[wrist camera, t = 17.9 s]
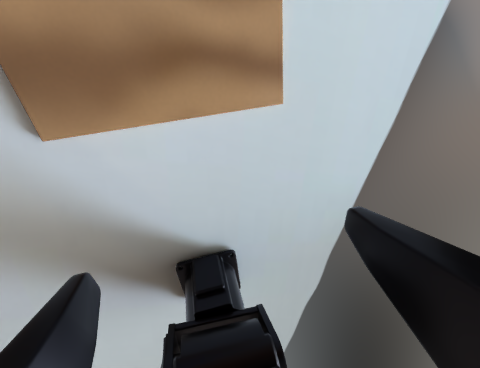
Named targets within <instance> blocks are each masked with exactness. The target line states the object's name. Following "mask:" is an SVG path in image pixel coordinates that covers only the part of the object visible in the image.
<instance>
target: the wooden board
mask: <svg viewBox="0 0 480 368" xmlns="http://www.w3.org/2000/svg"><path fill="white" fill-rule="evenodd" d="M0 65H1V67H2V68H3V70H4V72H5V74H6V76H7V78H8V79H9V81H10V83H11V85H12V87H13V89H14V90H15V92H16V94H17V96H18V98H19V99H20V101H21V103H22V105H23V107H24V109H25V110H26V112H27V114H28V116H29V118H30V120H31V121H32V123H33V125H34V127H35V129H36V130H37V132H38V134H39V136H40V138H41V140H42V141H50V140H56V139H62V138H69V137H75V136H81V135H88V134H94V133H100V132H107V131H113V130H119V129H126V128H132V127H138V126H145V125H151V124H158V123H164V122H170V121H177V120H183V119H189V118H196V117H202V116H208V115H215V114H221V113H227V112H234V111H240V110H246V109H253V108H259V107H265V106H272V105H278V104H283V30H282V0H0Z"/></svg>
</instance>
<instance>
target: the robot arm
mask: <svg viewBox="0 0 480 368" xmlns="http://www.w3.org/2000/svg"><path fill="white" fill-rule="evenodd" d="M345 230H346V232H347V234H348V235H349V237H350V239H351V241H352V243H353V244H354V246H355V248H356V250H357V252H358V253H359V255H360V257H361V259H362V260H363V262H364V264H365V265H366V267H367V268H368V270H369V271H370V273H371V274H372V276H373V277H374V278H375V280H376V281H377V282H378V284H379V285H380V287H381V288H382V290H383V291H384V292H385V294H386V295H387V297H388V298H389V299H390V301H391V302H392V303H393V305H394V307H395V308H396V309H397V311H398V312H399V313H400V315H401V316H402V318H403V319H404V321H405V322H406V323H407V325H408V326H409V328H410V329H411V330H412V332H413V333H414V335H415V336H416V337H417V339H418V340H419V342H420V343H421V345H422V346H423V347H424V349H425V350H426V352H427V353H428V354H429V356H430V357H431V359H432V360H433V361H434V363H435V364H436V366H437V367H438V368H480V256H478V255H475V254H472V253H470V252H468V251H465V250H463V249H461V248H458V247H456V246H453V245H451V244H449V243H446V242H444V241H442V240H439V239H437V238H435V237H432V236H430V235H427V234H425V233H423V232H420V231H418V230H415V229H413V228H410V227H408V226H405V225H403V224H401V223H399V222H396V221H394V220H391V219H389V218H387V217H384V216H382V215H379V214H377V213H375V212H372V211H370V210H368V209H365V208H363V207H360V206H358V207H353V208H350V209H348V211H347V215H346V220H345ZM230 254H232V255H230ZM176 271H177V274H178V277H179V280H180V283H181V285H182V288H183V291H184V294H185V298H186V322H183V323H179V324H175V323H174V324H169V328H168V334H166V337H165V338H164V347H163V360H162V365H161V368H287V365H286V360H285V356H284V352H283V349H282V346H281V343H280V340H279V338H278V336H277V334H276V332H275V330H274V328H273V326H272V324H271V322H270V320H269V318H268V315H267V313H266V311H265V309H264V307H263V305H262V304H259V305H256V306H255V307H251V308H246V309H245V308H244V304H243V301H242V297H241V293H240V287H241V286H240V280H239V273H238V267H237V260H236V254H235V251H234V250H228V251H224V252H220V253H216V254H212V255H208V256H204V257H200V258H196V259H192V260H188V261H184V262H180V263H178V264H177V265H176ZM100 296H101V291H100V287H99V286H98V284H97V283H96V282H95V280H94V279H93V277H92V276H91V275H90V274H89V273H81V274H77V275H74V276H72V277H71V278H70V279H69V280H68V281H67V282H66V283H65V284H64V285H63V286H62V287H61V288H60V290H59V291H58V292H57V293H56V294H55V295H54V296H53V297H52V298H51V299H50V300H49V301H48V302H47V303H46V304H45V306H44V307H43V308H42V309H41V310H40V311H39V312H38V313H37V314H36V315H35V316H34V317H33V318H32V319H31V320H30V322H29V323H28V324H27V325H26V326H25V327H24V328H23V329H22V330H21V331H20V332H19V333H18V334H17V335H16V336H15V338H14V339H13V340H12V341H11V342H10V343H9V344H8V345H7V346H6V347H5V348H4V349H3V350H2V351H1V352H0V368H91V367H92V362H93V357H94V352H95V346H96V339H97V330H98V318H99V307H100Z"/></svg>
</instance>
